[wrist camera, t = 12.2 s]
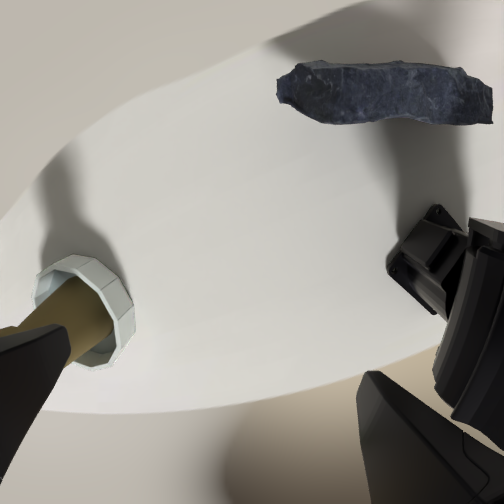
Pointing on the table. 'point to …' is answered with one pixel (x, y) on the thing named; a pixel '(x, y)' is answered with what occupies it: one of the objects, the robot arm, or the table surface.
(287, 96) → the stone
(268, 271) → the table surface
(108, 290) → the bowl
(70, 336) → the cork
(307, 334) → the table surface
